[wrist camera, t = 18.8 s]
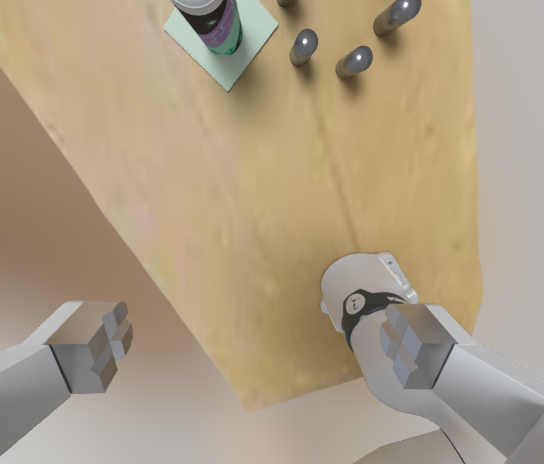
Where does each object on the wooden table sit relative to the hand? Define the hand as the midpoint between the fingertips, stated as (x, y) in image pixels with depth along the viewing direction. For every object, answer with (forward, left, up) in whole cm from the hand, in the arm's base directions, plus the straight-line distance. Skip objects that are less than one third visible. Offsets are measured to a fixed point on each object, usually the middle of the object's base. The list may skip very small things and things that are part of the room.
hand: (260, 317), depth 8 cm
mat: (+15, -9, -37) cm, 41 cm away
